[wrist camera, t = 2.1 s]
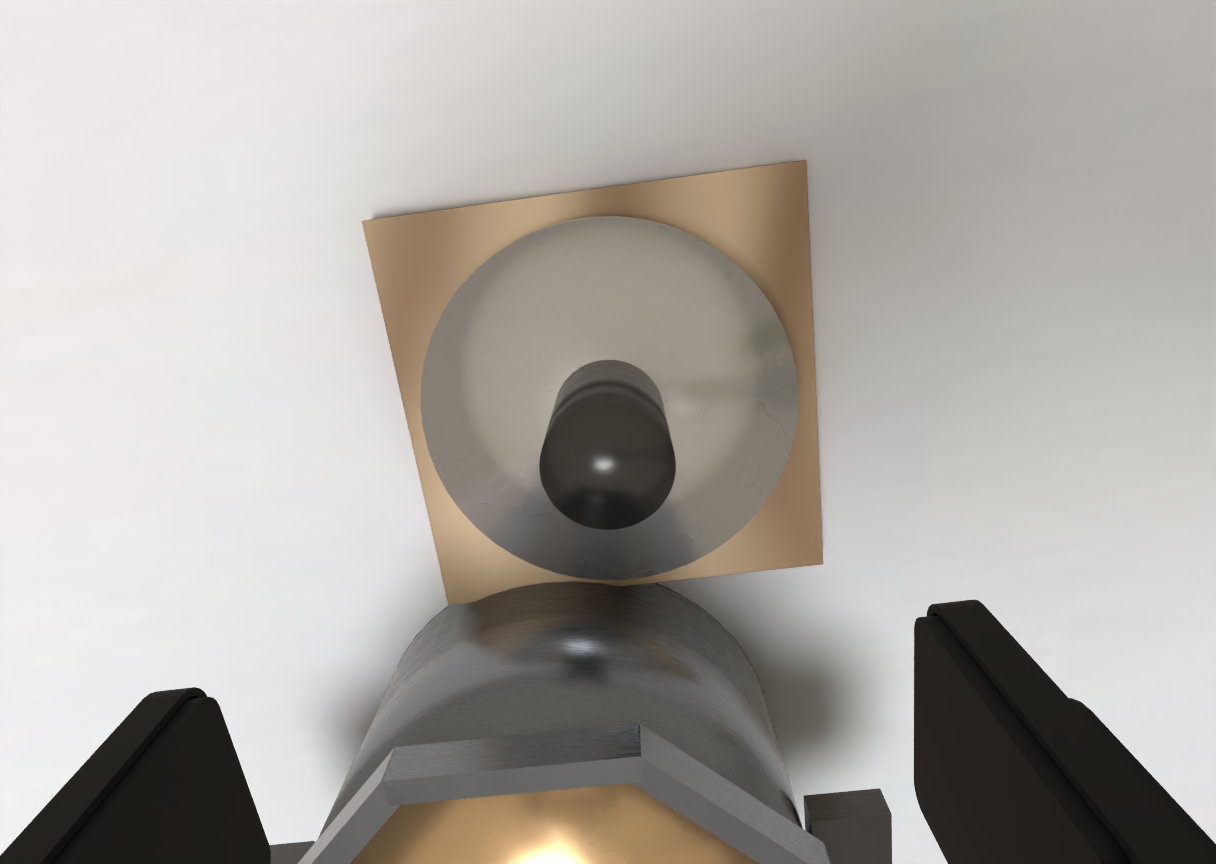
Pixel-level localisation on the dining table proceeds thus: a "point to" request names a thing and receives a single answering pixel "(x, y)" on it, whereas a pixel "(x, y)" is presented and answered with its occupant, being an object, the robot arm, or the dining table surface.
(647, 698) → the stockpot
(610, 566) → the lid
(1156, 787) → the robot arm
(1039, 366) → the dining table surface
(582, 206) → the plate
